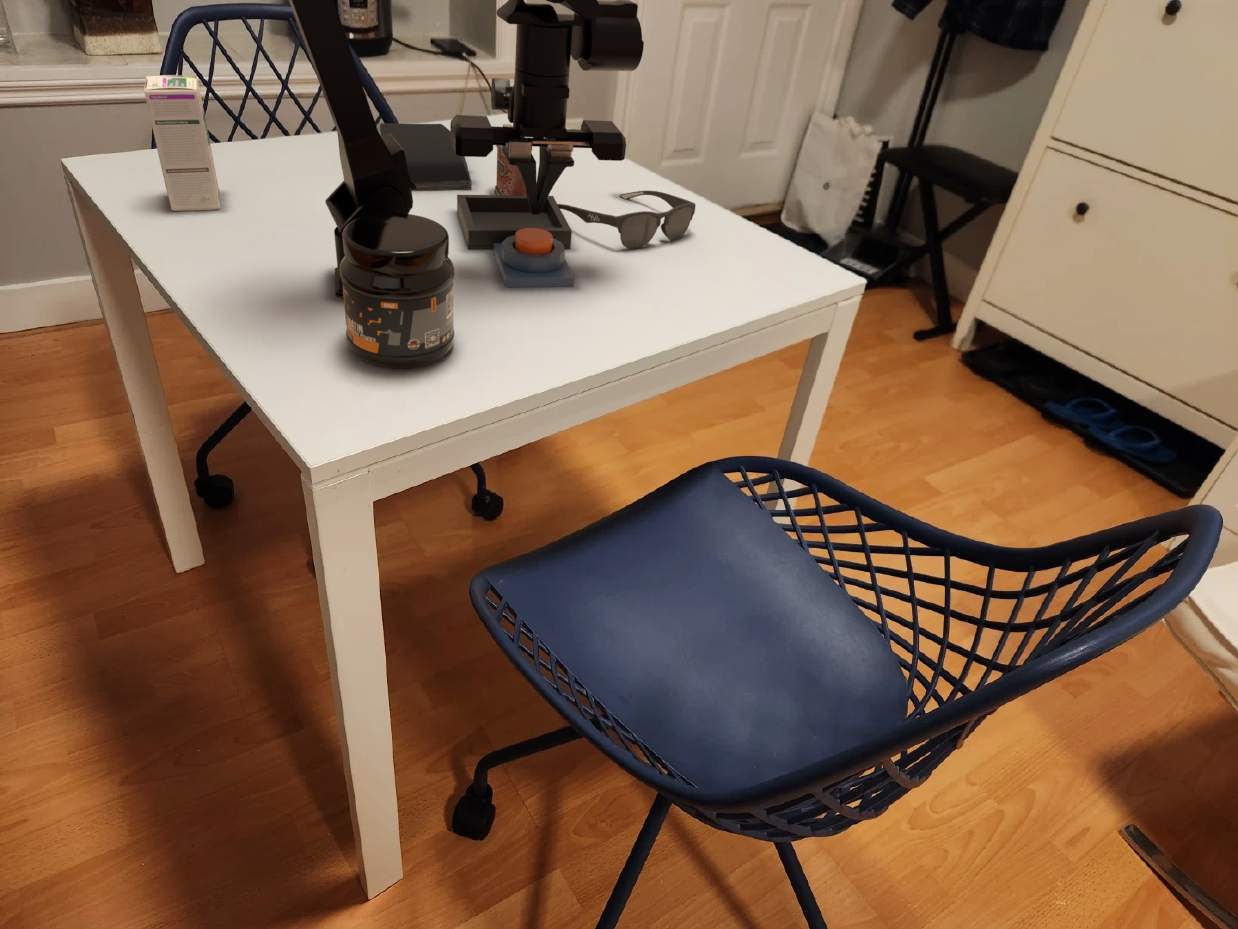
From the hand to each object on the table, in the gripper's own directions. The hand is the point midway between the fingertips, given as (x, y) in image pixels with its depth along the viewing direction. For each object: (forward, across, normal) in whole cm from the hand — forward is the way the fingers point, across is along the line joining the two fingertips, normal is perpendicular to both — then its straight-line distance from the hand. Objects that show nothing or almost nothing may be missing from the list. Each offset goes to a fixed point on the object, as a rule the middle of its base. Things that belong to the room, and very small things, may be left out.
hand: (534, 213), depth 100 cm
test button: (+4, 0, 0) cm, 4 cm away
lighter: (+7, -1, -22) cm, 24 cm away
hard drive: (+7, +10, -36) cm, 38 cm away
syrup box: (+7, +39, -20) cm, 45 cm away
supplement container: (+7, +16, +18) cm, 25 cm away
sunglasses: (+7, -15, -14) cm, 22 cm away
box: (+7, 0, 0) cm, 7 cm away
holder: (+7, 0, -12) cm, 14 cm away
